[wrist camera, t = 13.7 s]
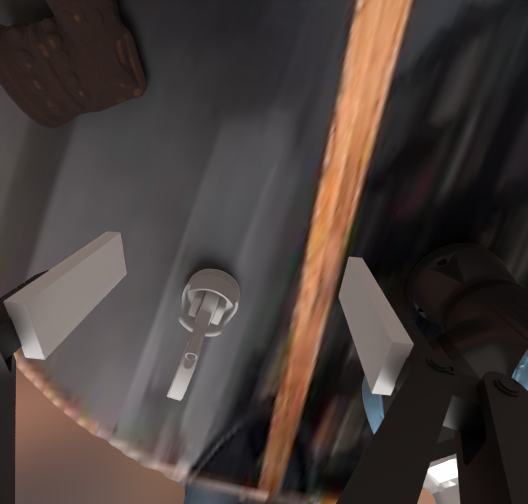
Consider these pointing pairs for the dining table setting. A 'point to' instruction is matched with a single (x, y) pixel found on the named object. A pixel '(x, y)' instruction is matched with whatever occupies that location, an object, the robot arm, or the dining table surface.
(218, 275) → the engine component
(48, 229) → the dining table surface
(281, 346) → the dining table surface
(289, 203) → the dining table surface
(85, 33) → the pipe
